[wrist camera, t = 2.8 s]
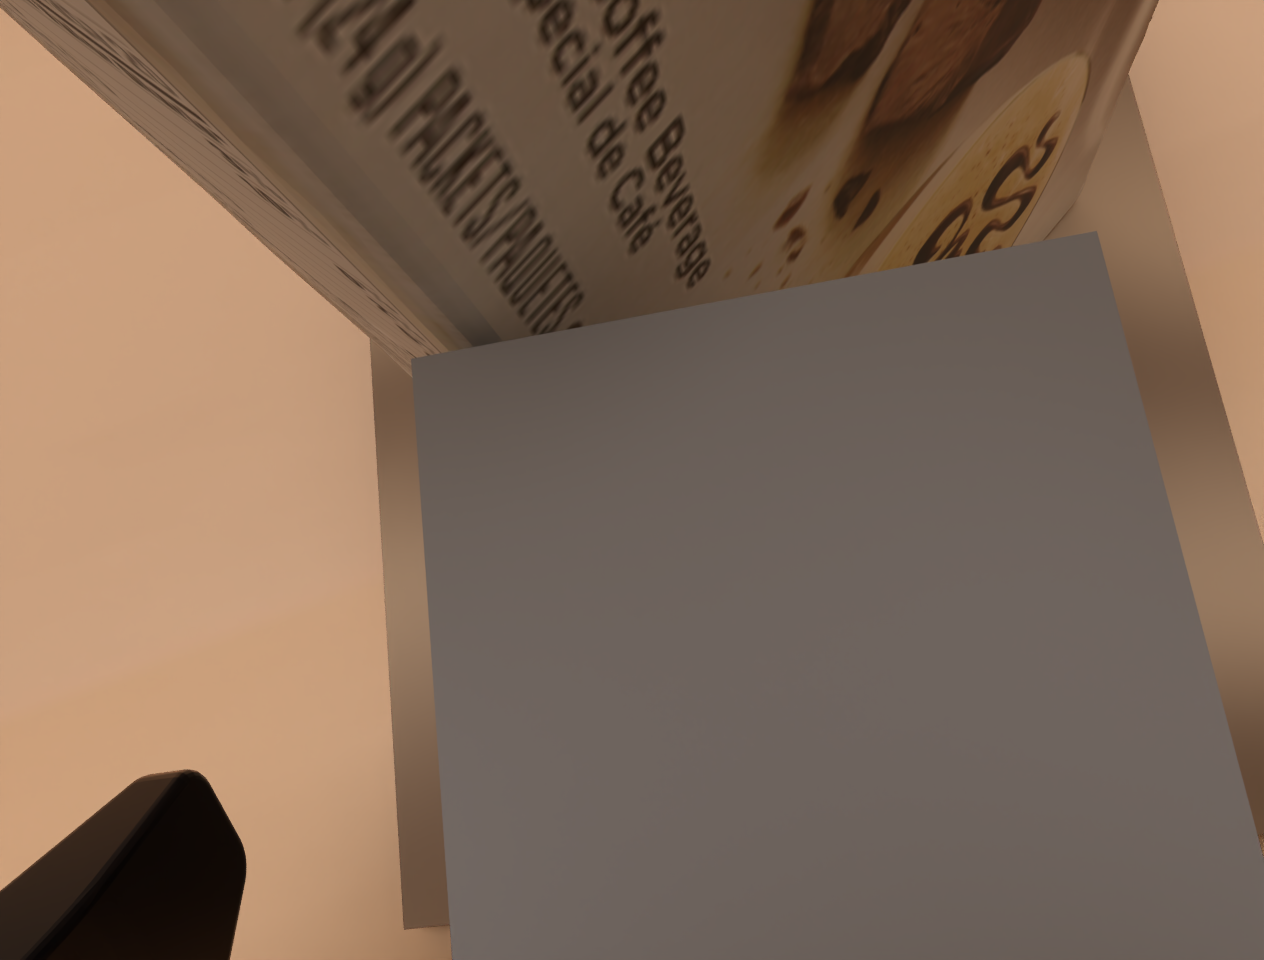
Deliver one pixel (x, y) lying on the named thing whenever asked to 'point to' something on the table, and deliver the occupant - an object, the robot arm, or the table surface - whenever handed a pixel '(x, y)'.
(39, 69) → the table surface
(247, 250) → the table surface
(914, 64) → the coffee box
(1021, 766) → the pull board
